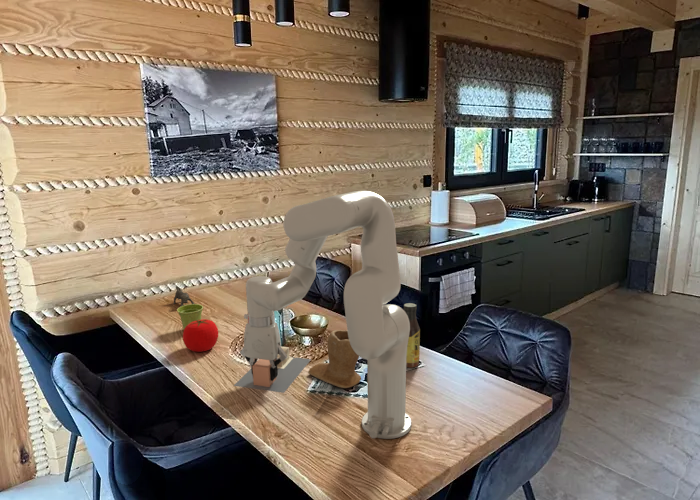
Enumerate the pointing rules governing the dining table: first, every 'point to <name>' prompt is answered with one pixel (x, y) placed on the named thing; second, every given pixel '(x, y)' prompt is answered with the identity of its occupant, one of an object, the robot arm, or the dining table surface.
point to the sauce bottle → (412, 336)
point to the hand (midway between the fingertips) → (264, 376)
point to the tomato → (200, 335)
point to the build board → (283, 378)
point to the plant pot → (190, 313)
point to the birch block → (286, 350)
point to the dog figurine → (181, 297)
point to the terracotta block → (262, 373)
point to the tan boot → (338, 362)
